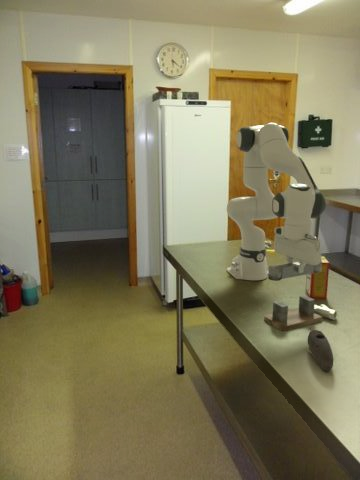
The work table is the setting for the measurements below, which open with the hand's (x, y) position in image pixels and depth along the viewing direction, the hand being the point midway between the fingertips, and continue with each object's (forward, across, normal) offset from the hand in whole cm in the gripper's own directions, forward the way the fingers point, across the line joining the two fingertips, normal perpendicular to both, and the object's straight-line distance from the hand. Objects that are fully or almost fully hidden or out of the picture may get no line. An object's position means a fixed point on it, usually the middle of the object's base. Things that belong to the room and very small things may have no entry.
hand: (295, 270), depth 131 cm
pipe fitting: (+20, -2, -14) cm, 24 cm away
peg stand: (+19, 0, 0) cm, 19 cm away
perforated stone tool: (+19, -25, +11) cm, 33 cm away
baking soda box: (+19, +15, -25) cm, 35 cm away
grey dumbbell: (+2, 0, 0) cm, 2 cm away
